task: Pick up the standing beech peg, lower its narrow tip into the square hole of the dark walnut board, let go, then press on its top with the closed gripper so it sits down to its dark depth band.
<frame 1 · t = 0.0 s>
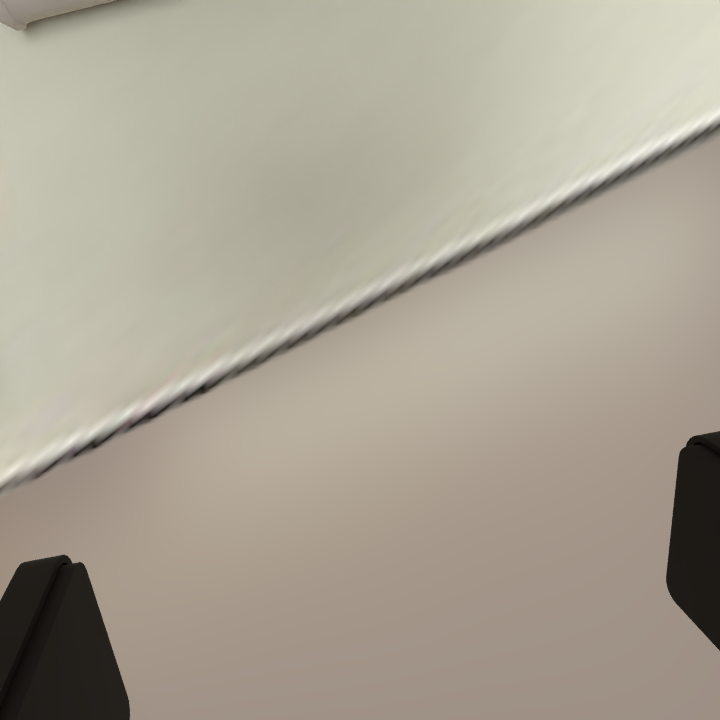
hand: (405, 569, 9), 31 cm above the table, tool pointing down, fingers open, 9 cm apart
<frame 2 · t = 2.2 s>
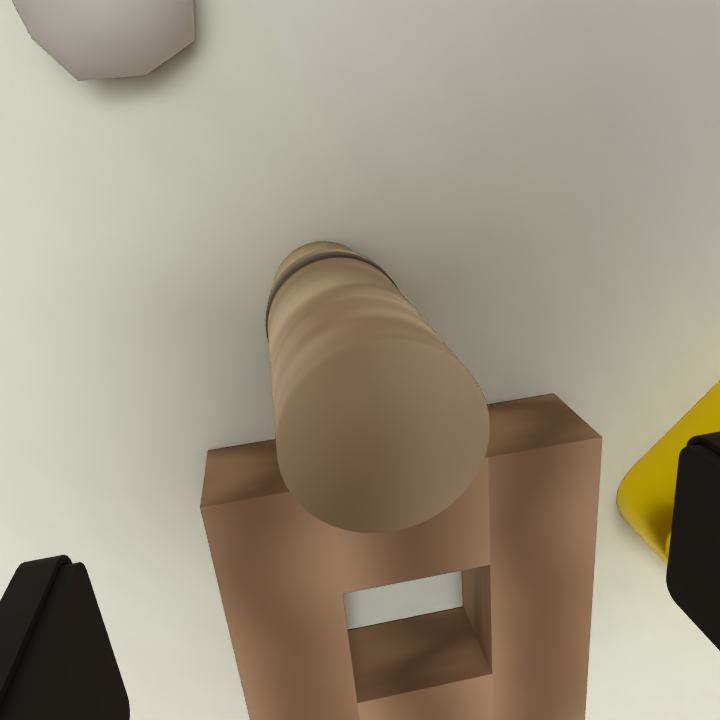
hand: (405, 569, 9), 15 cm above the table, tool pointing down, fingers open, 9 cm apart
board: (400, 570, 29), on the table
peg: (323, 291, 23), on the table
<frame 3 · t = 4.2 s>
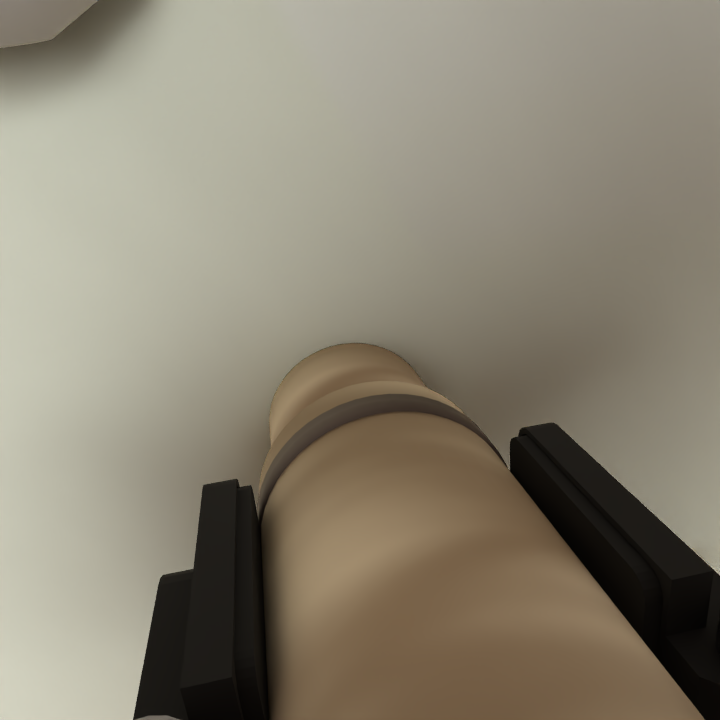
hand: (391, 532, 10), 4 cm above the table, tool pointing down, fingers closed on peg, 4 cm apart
peg: (350, 419, 14), on the table, touching gripper
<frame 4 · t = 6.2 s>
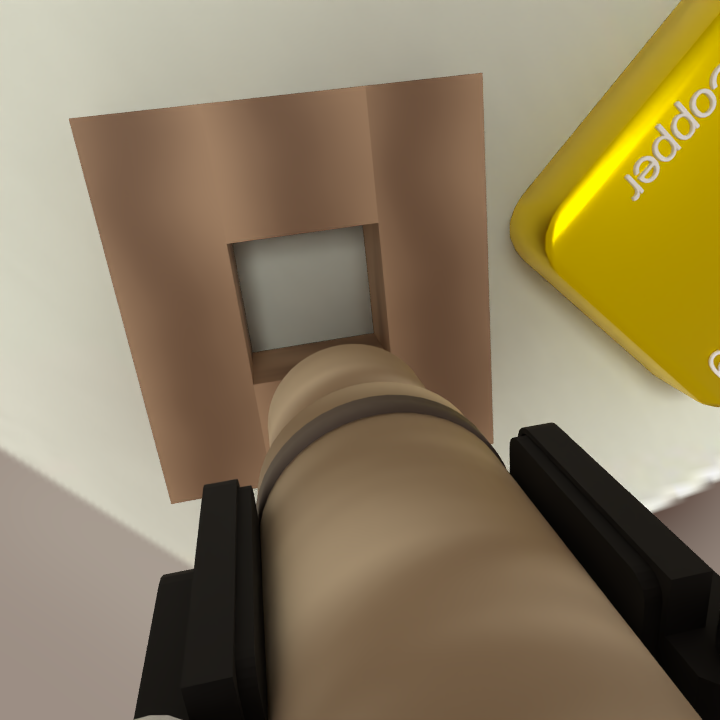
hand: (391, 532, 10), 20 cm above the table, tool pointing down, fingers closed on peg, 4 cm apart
element tile: (684, 202, 31), on the table
board: (305, 283, 29), on the table
peg: (349, 420, 14), point 15 cm above the table, touching gripper
when the fingers open (6 cm above the table, at t = 8.6 s): peg drops 1 cm, resting in board.
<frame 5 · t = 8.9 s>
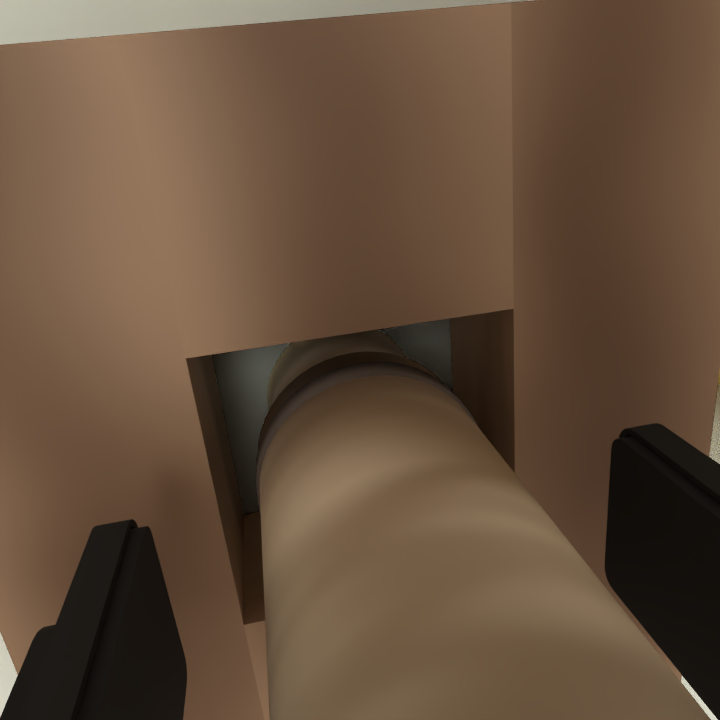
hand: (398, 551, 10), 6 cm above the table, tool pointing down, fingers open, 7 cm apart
board: (340, 395, 16), on the table
peg: (341, 393, 16), resting in board
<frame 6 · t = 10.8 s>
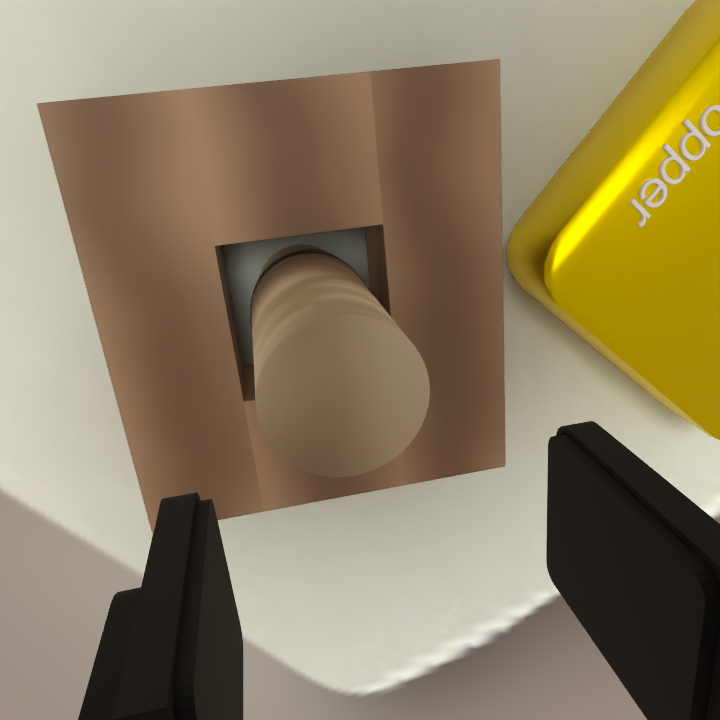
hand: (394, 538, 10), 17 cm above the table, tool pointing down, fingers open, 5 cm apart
element tile: (693, 222, 29), on the table
board: (301, 290, 26), on the table
peg: (302, 288, 26), resting in board
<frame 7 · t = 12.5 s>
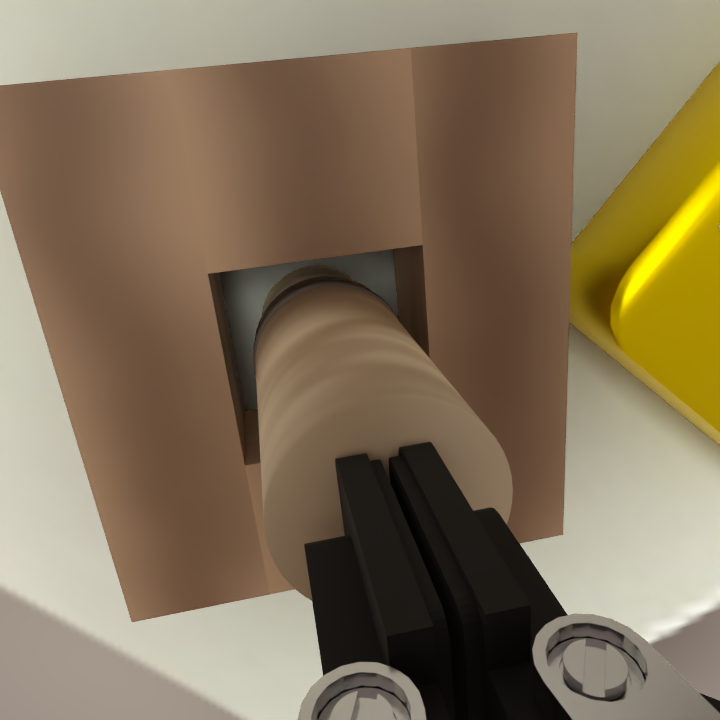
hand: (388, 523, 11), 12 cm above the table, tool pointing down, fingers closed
board: (315, 320, 22), on the table
peg: (316, 319, 22), resting in board, touching gripper
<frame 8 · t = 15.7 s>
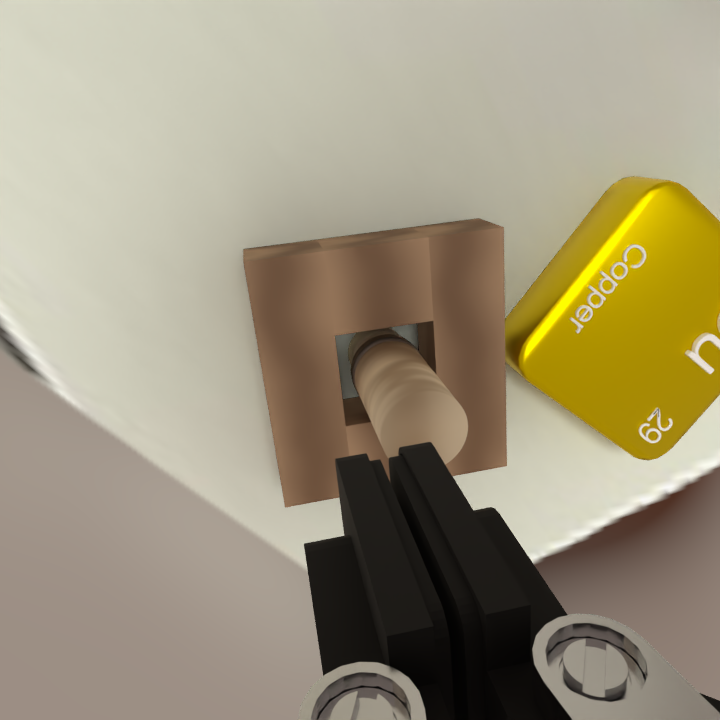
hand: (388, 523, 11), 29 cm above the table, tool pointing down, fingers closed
element tile: (620, 314, 44), on the table
board: (375, 352, 41), on the table
peg: (375, 351, 41), resting in board
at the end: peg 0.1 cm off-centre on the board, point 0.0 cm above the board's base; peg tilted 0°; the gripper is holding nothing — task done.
